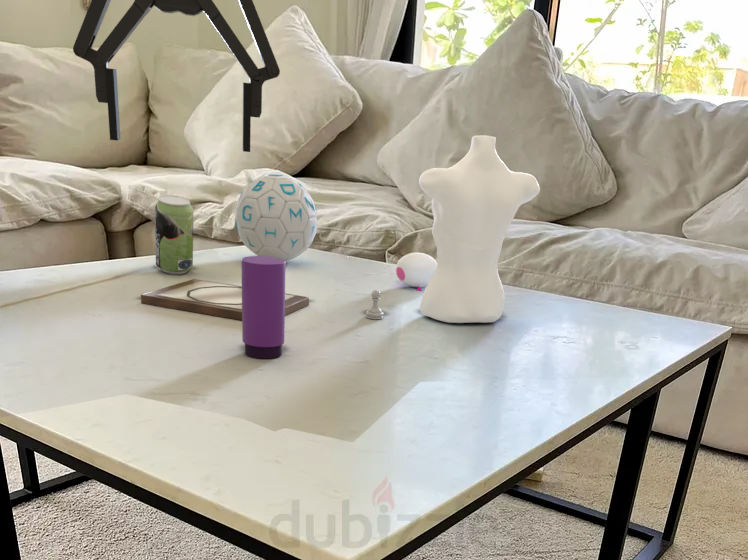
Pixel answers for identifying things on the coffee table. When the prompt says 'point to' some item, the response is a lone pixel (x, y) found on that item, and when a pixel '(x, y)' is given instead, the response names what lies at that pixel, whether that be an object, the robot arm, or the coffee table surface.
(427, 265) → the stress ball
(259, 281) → the dot marker
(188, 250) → the beverage can
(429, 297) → the torso sculpture
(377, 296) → the pawn
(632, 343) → the coffee table surface
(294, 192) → the puzzle ball
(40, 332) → the coffee table surface
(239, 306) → the drawing board
